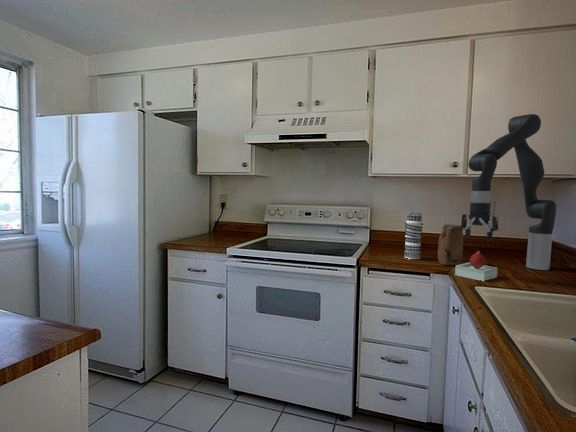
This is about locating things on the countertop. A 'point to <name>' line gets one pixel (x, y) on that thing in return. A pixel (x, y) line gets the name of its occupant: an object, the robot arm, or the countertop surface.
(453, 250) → the block
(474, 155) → the robot arm
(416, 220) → the white grey cylinder
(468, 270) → the stand
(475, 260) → the onion
